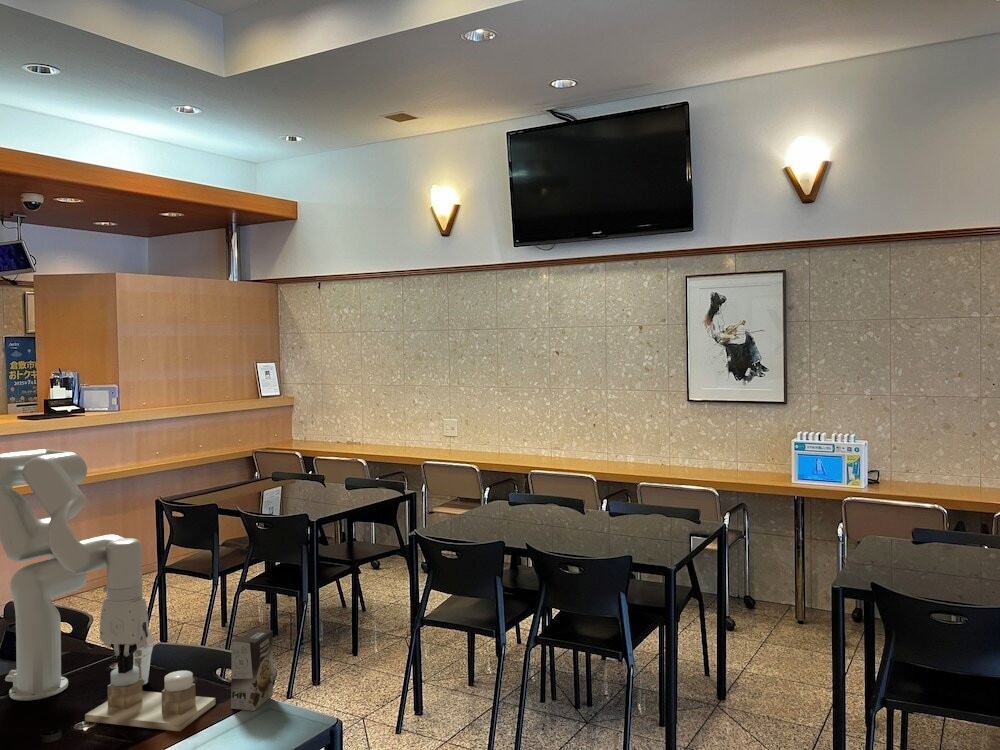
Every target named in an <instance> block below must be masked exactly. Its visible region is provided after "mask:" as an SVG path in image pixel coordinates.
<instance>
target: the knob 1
mask: <svg viewBox="0 0 1000 750" xmlns="http://www.w3.org/2000/svg"><path fill="white" fill-rule="evenodd" d="M138 680H139V667H137V666H133V669H132V670H130V671H128V672H126V673H118V667H116V668H114V669H113V670H111V672H110V684H111V685H113V686H126V685H131V684H133V683H136V682H137V681H138Z"/></svg>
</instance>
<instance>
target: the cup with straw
mask: <svg viewBox="0 0 1000 750" xmlns="http://www.w3.org/2000/svg"><path fill="white" fill-rule="evenodd" d="M146 640H147V646H145V647H143V648H138V649H137V650H136V651H135V652H134V653H133V666H137V667H139V678H140V679H142V686H144V685H147V684H148V683H149V676H150V675H149V674H150V668H151V659H152V653H153V649H154V646H155V645H156V644H157V641H156V637H154V636H153V634H152V633H151V631H150V630H149V633H148V637H147V638H146Z"/></svg>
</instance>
